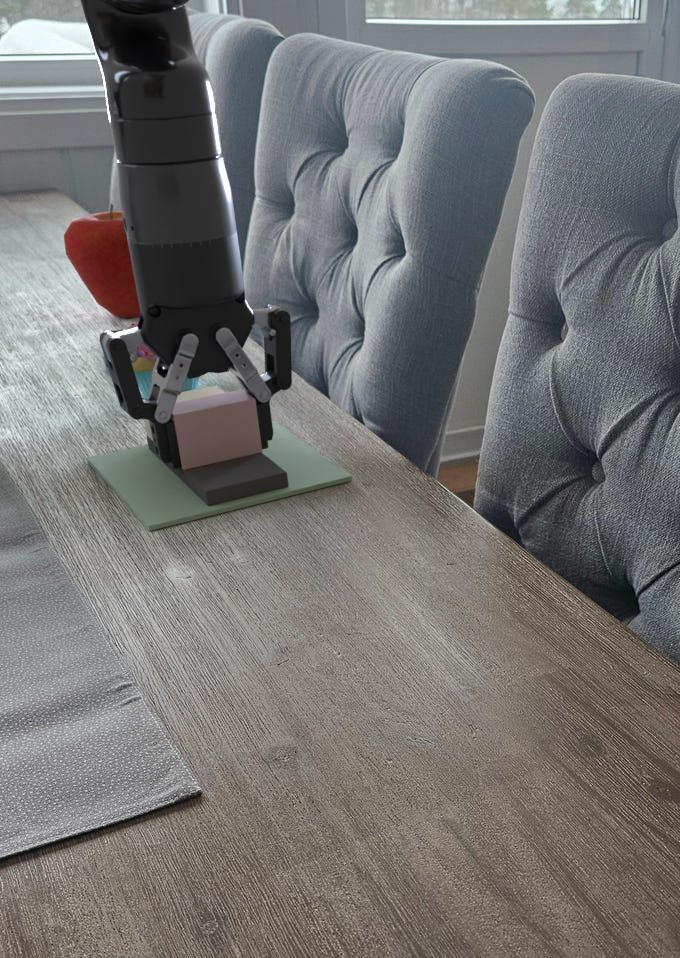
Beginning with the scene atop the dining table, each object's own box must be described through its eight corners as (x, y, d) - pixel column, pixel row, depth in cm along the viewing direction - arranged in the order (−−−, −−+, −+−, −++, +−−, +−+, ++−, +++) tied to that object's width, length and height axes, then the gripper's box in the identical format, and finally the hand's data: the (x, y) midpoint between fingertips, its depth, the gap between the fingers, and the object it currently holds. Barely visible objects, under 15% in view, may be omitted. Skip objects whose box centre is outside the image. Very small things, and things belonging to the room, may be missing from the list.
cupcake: (195, 413, 100) (172, 274, 94) (107, 410, 102) (78, 273, 95) (230, 383, 107) (211, 252, 101) (146, 380, 109) (123, 251, 102)
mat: (149, 531, 79) (148, 526, 79) (87, 462, 91) (86, 457, 91) (352, 480, 86) (352, 475, 86) (270, 422, 98) (270, 417, 98)
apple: (159, 297, 137) (141, 190, 130) (192, 315, 129) (174, 203, 122) (68, 312, 131) (44, 202, 125) (97, 332, 124) (73, 216, 117)
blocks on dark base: (289, 486, 85) (280, 416, 82) (208, 506, 82) (196, 434, 79) (222, 433, 95) (213, 368, 92) (148, 449, 92) (136, 383, 89)
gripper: (92, 251, 72) (141, 492, 81) (298, 223, 79) (322, 451, 87) (63, 233, 78) (112, 461, 87) (257, 208, 84) (284, 424, 93)
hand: (217, 455), depth 87 cm, fingers closed on blocks on dark base, 6 cm apart
